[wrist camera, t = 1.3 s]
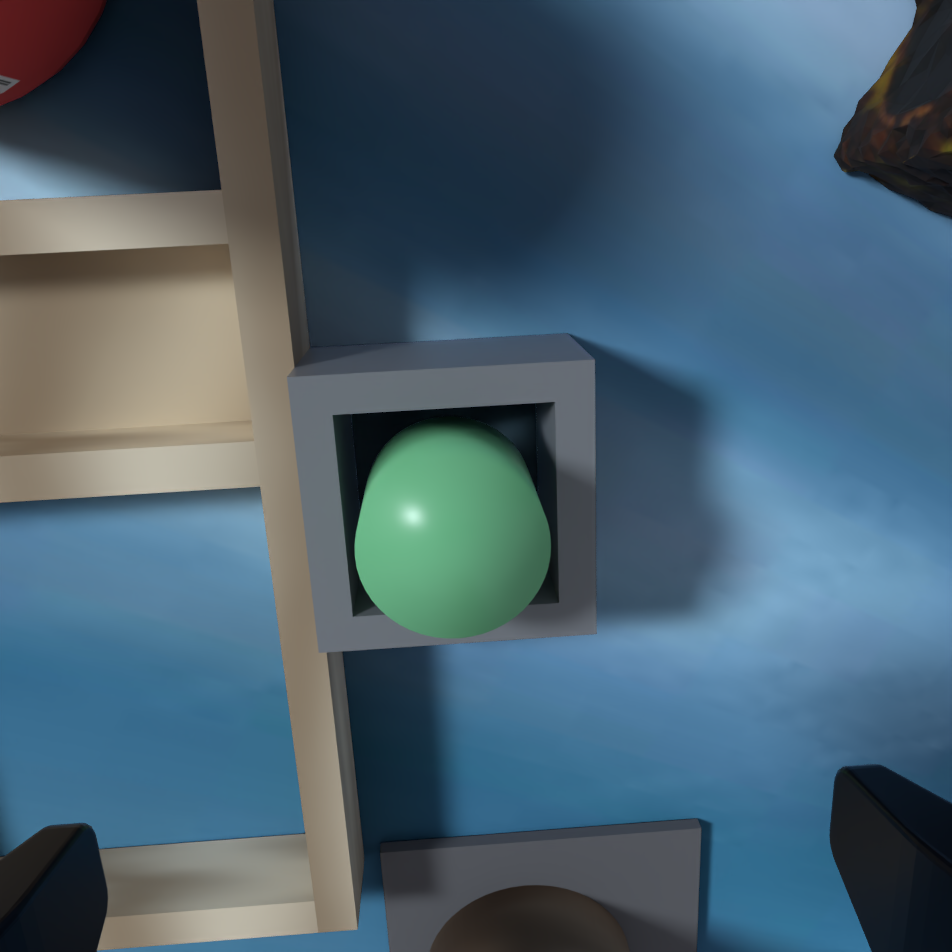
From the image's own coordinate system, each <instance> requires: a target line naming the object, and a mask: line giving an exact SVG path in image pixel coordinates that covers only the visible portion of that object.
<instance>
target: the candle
mask: <svg viewBox="0 0 952 952" xmlns="http://www.w3.org/2000/svg"><path fill="white" fill-rule="evenodd" d="M915 2H916V6H917V10H916V14H915V18H914V22H913V26H912V28H911V30H910V31H909V32H908V34H907V35H906V37H905V38H904V40H903V41H902V43H901V44H900V45H899V47H898V48H897V50H896V51H895V53H894V54H893V56H892V57H891V59H890V60H889V62H888V64H887V66H886V67H885V69H884V71H883V73H882V75H881V77H880V78H879V79H878V81H877V82H876V83H875V84H874V85H873V86H872V87H871V88H870V89H869V90H868V92H867V93H866V94H865V95H864V96H863V97H862V98H861V99H860V100H859V102H858V105H857V108H856V111H855V114H854V116H853V117H852V118H851V120H850V121H849V122H848V124H847V125H846V126H845V127H844V129H843V133H842V137H841V142H840V144H839V146H838V148H837V150H836V152H835V154H834V158H835V159H836V161H837V163H838V164H839V166H840V168H841V169H842V171H844V172H853V171H861V172H865V173H868V174H869V175H870V176H871V177H873V178H874V179H876V180H877V181H879V182H880V183H881V184H883V185H884V186H885V187H887V188H888V189H890V190H893V191H895V192H898V193H901V194H904V195H906V196H909V197H911V198H913V199H916V200H918V201H919V202H920V203H922V204H923V205H924V206H925V207H927V208H928V209H929V210H931V211H934V212H938V213H941V214H944V215H948V216H951V217H952V0H915Z"/></svg>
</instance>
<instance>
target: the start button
mask: <svg viewBox="0 0 952 952" xmlns="http://www.w3.org/2000/svg"><path fill="white" fill-rule="evenodd" d="M550 556H551V538H550V530H549V526H548V522H547V519H546V516H545V513H544V511H543V508H542V505H541V503H540V500H539V497H538V495H537V492H536V489H535V487H534V484H533V481H532V479H531V476H530V473H529V471H528V468H527V465H526V463H525V461H524V459H523V457H522V455H521V454H520V452H519V451H518V450H517V448H516V447H515V446H514V444H513V443H512V442H511V441H510V440H509V439H508V438H507V437H506V436H504V435H503V434H502V433H500V432H499V431H498V430H496V429H495V428H493V427H491V426H489V425H487V424H485V423H483V422H480V421H478V420H474V419H470V418H466V417H459V416H441V417H433V418H429V419H425V420H422V421H419V422H417V423H414V424H412V425H410V426H408V427H406V428H405V429H403V430H401V431H400V432H399V433H397V434H396V435H395V436H393V437H392V438H391V439H390V440H389V441H388V442H387V443H386V444H385V446H384V447H383V448H382V449H381V451H380V452H379V453H378V455H377V457H376V458H375V460H374V462H373V464H372V467H371V469H370V472H369V476H368V479H367V484H366V488H365V493H364V498H363V502H362V507H361V512H360V516H359V521H358V526H357V530H356V537H355V561H356V567H357V571H358V574H359V577H360V580H361V582H362V584H363V586H364V588H365V590H366V592H367V594H368V595H369V597H370V598H371V600H372V601H373V602H374V603H375V604H376V606H377V607H378V608H379V609H380V610H381V611H382V612H383V613H384V614H385V615H387V616H388V617H389V618H390V619H392V620H393V621H395V622H396V623H398V624H399V625H401V626H403V627H405V628H407V629H409V630H411V631H414V632H417V633H419V634H422V635H427V636H431V637H437V638H465V637H472V636H476V635H480V634H484V633H486V632H489V631H492V630H494V629H496V628H498V627H500V626H502V625H504V624H506V623H507V622H509V621H510V620H512V619H513V618H515V617H516V616H517V615H518V614H519V613H520V612H522V611H523V610H524V609H525V608H526V607H527V605H528V604H529V603H530V602H531V601H532V600H533V598H534V597H535V595H536V594H537V592H538V591H539V589H540V587H541V585H542V583H543V581H544V579H545V576H546V573H547V570H548V567H549V562H550Z"/></svg>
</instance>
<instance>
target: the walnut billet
mask: <svg viewBox="0 0 952 952" xmlns="http://www.w3.org/2000/svg"><path fill="white" fill-rule="evenodd" d="M430 952H630V951H629V947H628V943H627V940H626V937H625V935H624V932H623V930H622V928H621V927H620V925H619V924H618V922H617V921H616V919H615V918H614V917H613V916H612V915H611V914H610V913H609V912H608V911H607V910H606V909H605V908H604V907H602V906H601V905H600V904H599V903H597V902H595V901H594V900H592V899H591V898H589V897H587V896H584V895H582V894H580V893H578V892H575V891H571V890H568V889H565V888H560V887H554V886H545V885H525V886H517V887H511V888H507V889H502V890H498V891H495V892H493V893H490V894H487V895H485V896H483V897H481V898H478V899H476V900H474V901H473V902H471V903H469V904H468V905H466V906H465V907H463V908H462V909H461V910H459V911H458V912H457V913H456V914H454V915H453V916H452V917H451V918H450V919H449V920H448V921H447V922H446V923H445V925H444V926H443V927H442V929H441V930H440V931H439V933H438V934H437V936H436V938H435V940H434V942H433V944H432V946H431V949H430Z"/></svg>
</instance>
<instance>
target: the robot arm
mask: <svg viewBox="0 0 952 952" xmlns="http://www.w3.org/2000/svg"><path fill="white" fill-rule="evenodd" d="M830 844H831V850H832V854H833V857H834V860H835V862H836V865H837V867H838V870H839V872H840V875H841V877H842V880H843V882H844V885H845V887H846V889H847V892H848V894H849V897H850V899H851V902H852V904H853V907H854V909H855V912H856V914H857V916H858V919H859V921H860V924H861V926H862V929H863V931H864V934H865V936H866V939H867V941H868V943H869V946H870V948H871V951H872V952H952V803H950V802H948V801H946V800H945V799H943V798H941V797H939V796H937V795H936V794H934V793H932V792H930V791H928V790H926V789H925V788H923V787H921V786H919V785H917V784H915V783H914V782H912V781H910V780H908V779H906V778H905V777H903V776H901V775H899V774H897V773H895V772H894V771H892V770H890V769H888V768H886V767H884V766H882V765H878V764H867V765H854V766H844V767H842V768H841V769H839V770H838V771H837V774H836V776H835V781H834V790H833V801H832V812H831V823H830ZM107 908H108V888H107V883H106V879H105V874H104V870H103V865H102V861H101V856H100V852H99V847H98V843H97V838H96V835H95V832H94V830H93V828H92V827H91V826H90V825H88V824H86V823H74V824H60V825H51V826H47V827H45V828H43V829H41V830H40V831H38V832H37V833H36V834H34V835H33V836H32V837H30V838H29V839H28V840H26V841H25V842H23V843H22V844H21V845H19V846H18V847H17V848H15V849H14V850H13V851H11V852H10V853H9V854H7V855H6V856H4V857H3V858H2V859H0V952H97V949H98V945H99V941H100V937H101V934H102V930H103V926H104V923H105V919H106V914H107Z"/></svg>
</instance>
